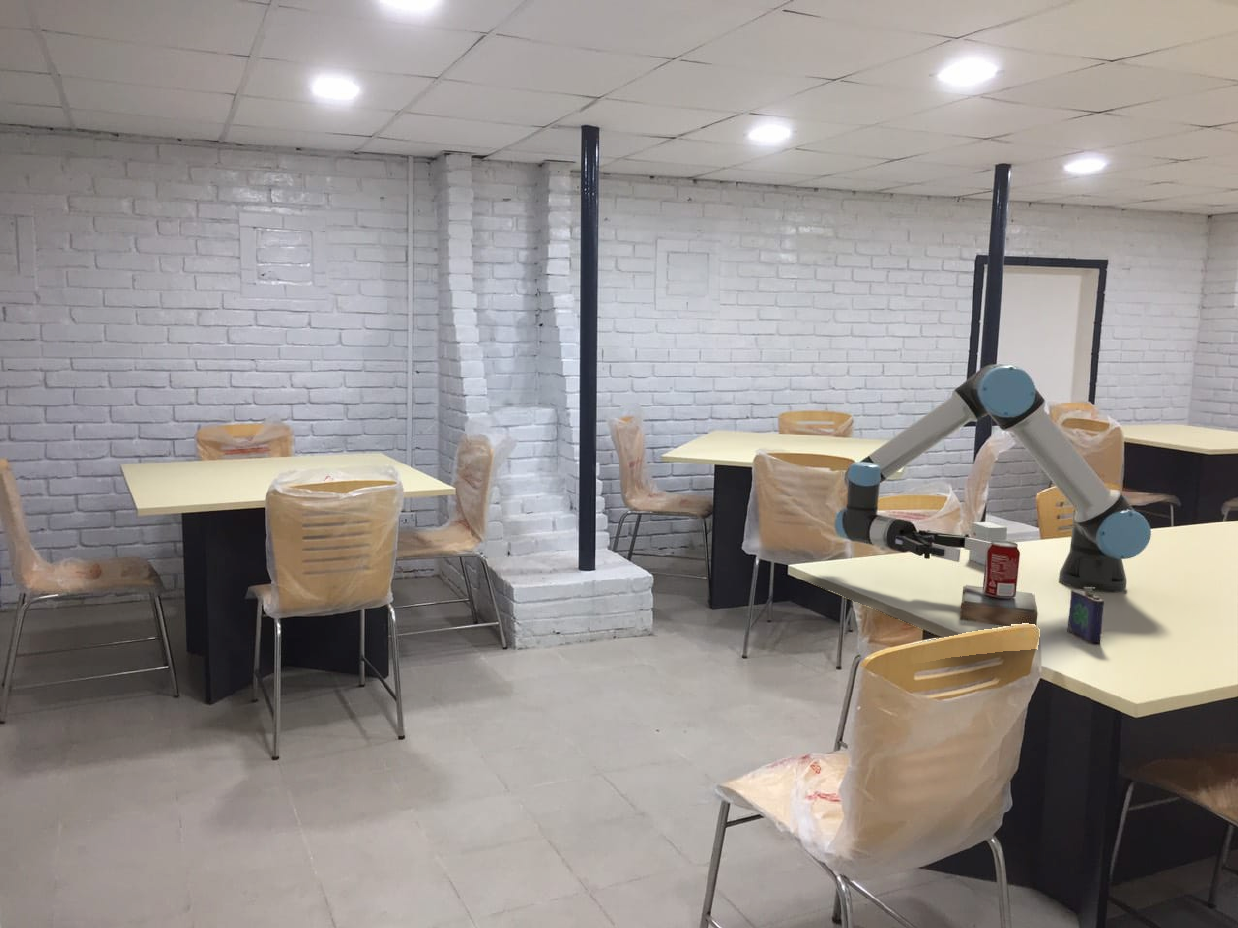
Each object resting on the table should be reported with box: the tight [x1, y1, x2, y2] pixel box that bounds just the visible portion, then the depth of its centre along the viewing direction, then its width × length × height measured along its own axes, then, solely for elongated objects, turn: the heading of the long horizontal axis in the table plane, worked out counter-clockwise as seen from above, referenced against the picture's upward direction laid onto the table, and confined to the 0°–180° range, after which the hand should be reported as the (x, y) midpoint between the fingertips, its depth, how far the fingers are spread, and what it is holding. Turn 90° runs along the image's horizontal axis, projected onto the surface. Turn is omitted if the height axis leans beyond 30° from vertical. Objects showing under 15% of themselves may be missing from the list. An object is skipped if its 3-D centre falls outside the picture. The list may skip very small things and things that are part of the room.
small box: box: [968, 521, 1008, 566], centre depth 262 cm, size 8×6×10 cm
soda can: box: [982, 540, 1021, 600], centre depth 210 cm, size 7×7×12 cm
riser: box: [959, 584, 1039, 626], centre depth 212 cm, size 15×16×4 cm
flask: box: [1066, 587, 1105, 646], centre depth 197 cm, size 9×3×11 cm, turn 8°
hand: (975, 552), depth 215 cm, fingers open, 13 cm apart
